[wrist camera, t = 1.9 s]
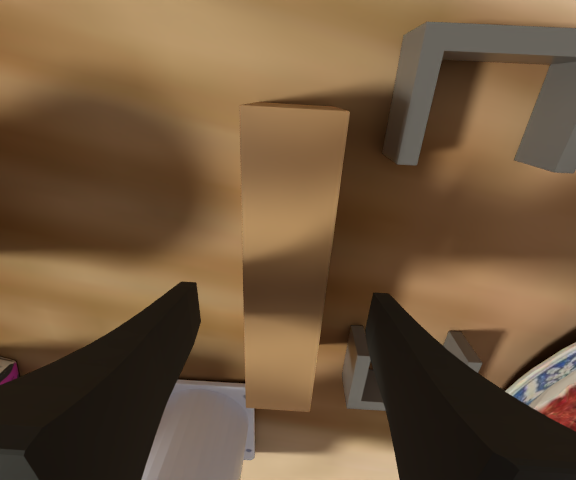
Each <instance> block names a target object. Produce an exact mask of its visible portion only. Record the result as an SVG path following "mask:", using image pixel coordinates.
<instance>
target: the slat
mask: <svg viewBox="0 0 576 480" xmlns="http://www.w3.org/2000/svg"><path fill="white" fill-rule="evenodd" d="M239 107H240V155H241V202H242V250H243V297H244V345H245V393H246V408H256V409H271V410H287V411H302V412H310V408H311V400H312V393H313V385H314V378H315V370H316V363H317V355H318V348H319V340H320V333H321V325H322V318H323V310H324V303H325V295H326V288H327V280H328V273H329V265H330V258H331V250H332V243H333V235H334V228H335V220H336V213H337V205H338V198H339V190H340V183H341V175H342V168H343V160H344V153H345V145H346V138H347V130H348V123H349V115H350V111H347V110H344V109H341V108H337V107H334V106H318V105H300V104H283V103H265V102H256V103H250V104H244V105H239Z"/></svg>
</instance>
